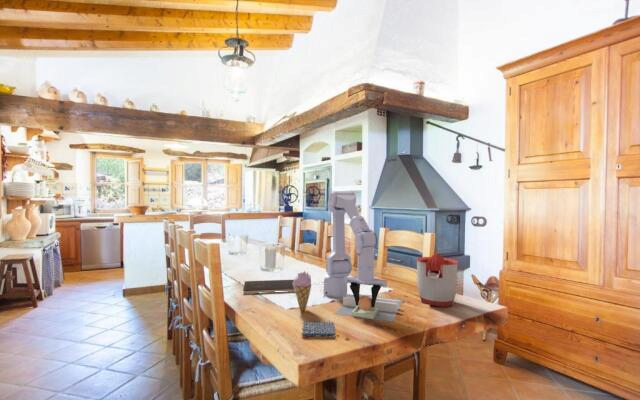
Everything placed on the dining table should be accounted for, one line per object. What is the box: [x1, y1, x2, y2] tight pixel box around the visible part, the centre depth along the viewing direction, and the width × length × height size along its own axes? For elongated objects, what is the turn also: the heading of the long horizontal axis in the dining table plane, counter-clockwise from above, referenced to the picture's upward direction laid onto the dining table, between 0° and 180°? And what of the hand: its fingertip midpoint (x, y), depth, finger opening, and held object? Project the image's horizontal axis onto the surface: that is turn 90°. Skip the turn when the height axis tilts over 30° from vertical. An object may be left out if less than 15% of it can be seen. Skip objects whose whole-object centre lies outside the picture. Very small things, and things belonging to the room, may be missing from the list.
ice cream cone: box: [292, 270, 312, 314], centre depth 116 cm, size 7×6×15 cm
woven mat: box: [300, 320, 337, 339], centre depth 99 cm, size 10×11×2 cm
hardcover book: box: [242, 279, 295, 295], centre depth 147 cm, size 16×23×2 cm
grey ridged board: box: [334, 293, 405, 323], centre depth 120 cm, size 20×26×4 cm
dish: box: [351, 305, 378, 320], centre depth 112 cm, size 7×7×1 cm
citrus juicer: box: [416, 252, 459, 308], centre depth 128 cm, size 16×17×20 cm
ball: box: [358, 294, 372, 311], centre depth 112 cm, size 5×5×5 cm
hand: (365, 305), depth 112 cm, fingers closed on ball, 5 cm apart
